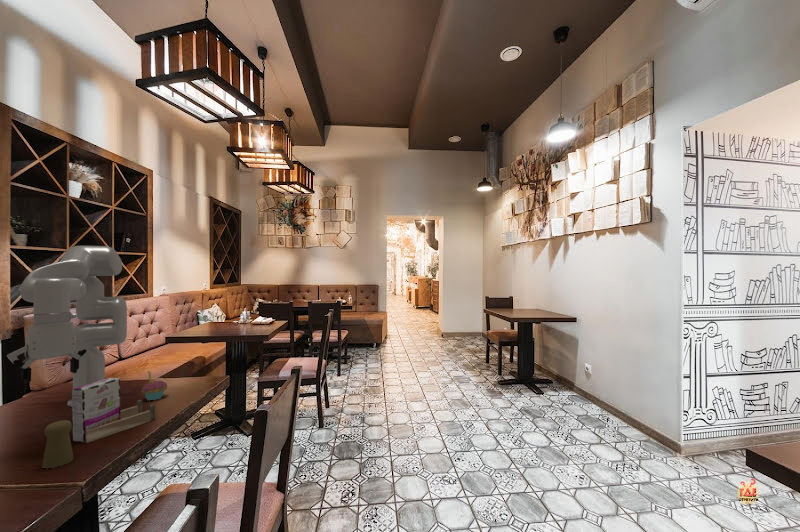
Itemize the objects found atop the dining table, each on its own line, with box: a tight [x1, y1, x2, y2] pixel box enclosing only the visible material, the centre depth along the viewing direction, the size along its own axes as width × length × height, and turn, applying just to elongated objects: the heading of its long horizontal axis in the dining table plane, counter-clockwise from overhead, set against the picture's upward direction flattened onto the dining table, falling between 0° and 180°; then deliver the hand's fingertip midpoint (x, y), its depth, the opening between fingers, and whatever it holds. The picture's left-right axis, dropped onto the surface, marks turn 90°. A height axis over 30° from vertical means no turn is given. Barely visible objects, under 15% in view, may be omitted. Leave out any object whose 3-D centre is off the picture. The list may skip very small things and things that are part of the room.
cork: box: [41, 419, 74, 470], centre depth 90 cm, size 6×6×11 cm
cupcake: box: [141, 371, 168, 402], centre depth 136 cm, size 9×8×12 cm
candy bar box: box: [71, 377, 121, 443], centre depth 106 cm, size 11×5×16 cm, turn 168°
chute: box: [85, 399, 156, 444], centre depth 110 cm, size 10×18×5 cm, turn 150°
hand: (51, 376), depth 97 cm, fingers open, 9 cm apart
